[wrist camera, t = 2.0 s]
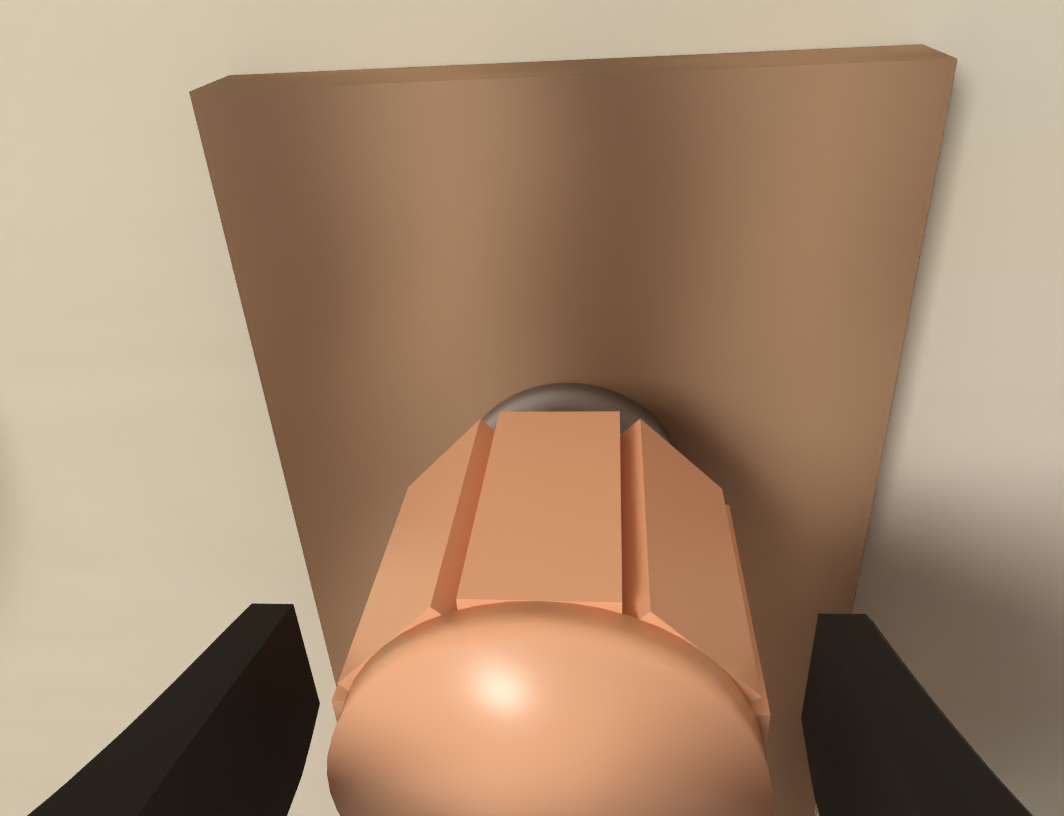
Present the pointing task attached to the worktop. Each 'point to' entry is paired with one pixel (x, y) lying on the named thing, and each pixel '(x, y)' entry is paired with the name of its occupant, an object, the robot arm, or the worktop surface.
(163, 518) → the worktop surface
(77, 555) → the worktop surface
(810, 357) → the board
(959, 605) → the worktop surface
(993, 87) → the worktop surface
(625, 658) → the cap
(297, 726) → the robot arm
